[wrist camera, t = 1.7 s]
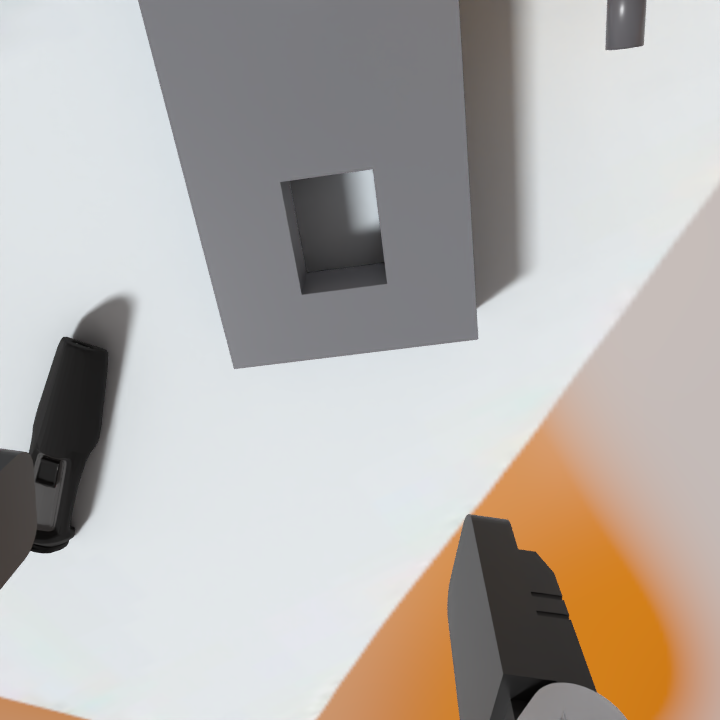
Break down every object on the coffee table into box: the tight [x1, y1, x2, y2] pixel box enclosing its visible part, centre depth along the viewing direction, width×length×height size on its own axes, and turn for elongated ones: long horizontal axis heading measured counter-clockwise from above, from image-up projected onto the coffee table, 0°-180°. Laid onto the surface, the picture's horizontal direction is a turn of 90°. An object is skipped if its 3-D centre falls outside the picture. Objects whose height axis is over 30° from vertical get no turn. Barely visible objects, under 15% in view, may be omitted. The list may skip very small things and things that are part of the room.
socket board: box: [138, 0, 478, 369], centre depth 27 cm, size 22×12×4 cm, turn 8°
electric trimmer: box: [29, 337, 108, 553], centre depth 36 cm, size 4×16×3 cm, turn 158°
